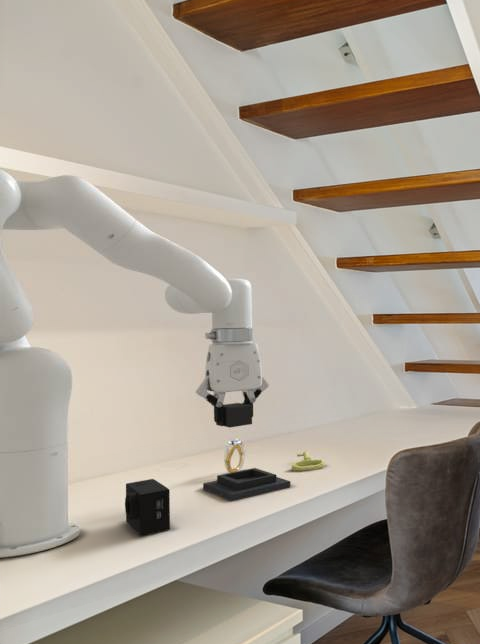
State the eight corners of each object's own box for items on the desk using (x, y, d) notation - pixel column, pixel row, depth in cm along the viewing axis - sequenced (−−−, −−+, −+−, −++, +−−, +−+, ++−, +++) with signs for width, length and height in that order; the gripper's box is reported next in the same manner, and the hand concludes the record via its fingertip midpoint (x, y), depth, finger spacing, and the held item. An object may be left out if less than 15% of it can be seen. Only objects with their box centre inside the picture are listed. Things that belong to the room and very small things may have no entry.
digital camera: (117, 524, 104) (117, 484, 104) (153, 516, 108) (153, 477, 108) (131, 538, 96) (131, 495, 96) (169, 529, 100) (169, 488, 100)
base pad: (231, 500, 116) (231, 487, 116) (203, 488, 125) (203, 476, 125) (290, 486, 125) (290, 474, 125) (259, 476, 134) (259, 464, 134)
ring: (238, 469, 142) (237, 435, 142) (250, 469, 141) (250, 435, 141) (219, 476, 135) (218, 441, 135) (232, 477, 134) (231, 442, 134)
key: (307, 458, 151) (306, 450, 151) (327, 467, 142) (327, 458, 142) (278, 464, 146) (278, 455, 146) (297, 473, 137) (297, 464, 137)
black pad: (229, 427, 121) (229, 408, 121) (216, 424, 125) (215, 405, 125) (252, 424, 124) (251, 405, 124) (238, 421, 128) (238, 402, 128)
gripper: (196, 339, 116) (197, 432, 115) (280, 335, 129) (281, 419, 129) (181, 338, 120) (183, 428, 120) (264, 335, 133) (265, 416, 133)
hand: (234, 422), depth 124 cm, fingers closed on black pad, 4 cm apart
